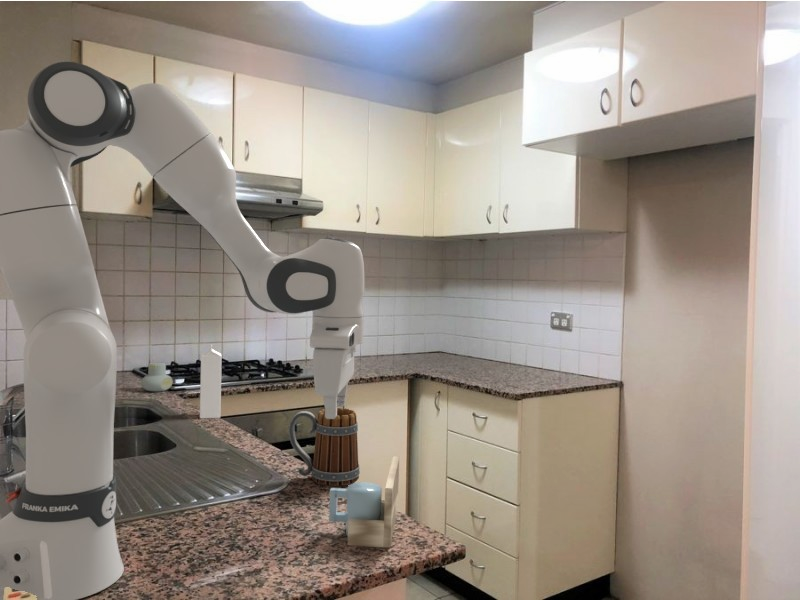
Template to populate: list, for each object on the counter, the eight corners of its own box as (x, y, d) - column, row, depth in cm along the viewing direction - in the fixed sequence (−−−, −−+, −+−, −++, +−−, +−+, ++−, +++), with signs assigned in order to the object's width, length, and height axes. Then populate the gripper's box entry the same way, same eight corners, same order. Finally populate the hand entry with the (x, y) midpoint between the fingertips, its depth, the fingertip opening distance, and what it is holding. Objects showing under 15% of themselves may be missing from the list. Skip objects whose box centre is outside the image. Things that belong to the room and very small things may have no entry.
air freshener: (157, 394, 218) (157, 366, 217) (137, 392, 220) (137, 364, 219) (175, 388, 228) (176, 362, 228) (156, 387, 230) (156, 360, 230)
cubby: (347, 545, 102) (349, 486, 102) (361, 504, 120) (362, 454, 120) (390, 547, 102) (392, 488, 101) (397, 506, 120) (399, 456, 119)
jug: (326, 538, 105) (327, 492, 104) (332, 524, 111) (333, 480, 110) (378, 541, 104) (380, 495, 104) (381, 527, 110) (383, 483, 110)
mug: (360, 472, 140) (362, 407, 139) (358, 488, 129) (360, 418, 129) (291, 470, 139) (293, 405, 139) (284, 486, 129) (286, 416, 128)
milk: (199, 418, 184) (200, 346, 183) (200, 414, 190) (201, 343, 189) (220, 418, 186) (221, 345, 185) (220, 413, 192) (221, 343, 191)
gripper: (330, 326, 117) (328, 398, 117) (307, 338, 96) (305, 424, 97) (363, 328, 116) (361, 400, 117) (347, 339, 96) (345, 426, 96)
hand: (335, 411), depth 107 cm, fingers open, 8 cm apart
